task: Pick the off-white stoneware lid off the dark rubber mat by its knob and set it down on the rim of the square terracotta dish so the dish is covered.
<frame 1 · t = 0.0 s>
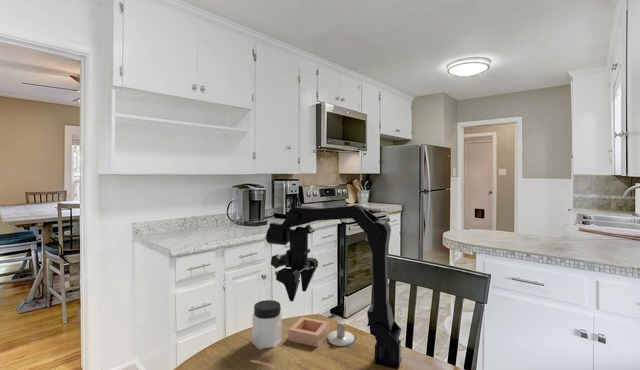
hand: (298, 296, 100), 15 cm above the table, fingers open, 9 cm apart
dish: (309, 337, 103), on the table
lid: (340, 339, 101), point 1 cm above the table, touching mat
jar: (267, 343, 99), on the table
mat: (340, 341, 101), on the table
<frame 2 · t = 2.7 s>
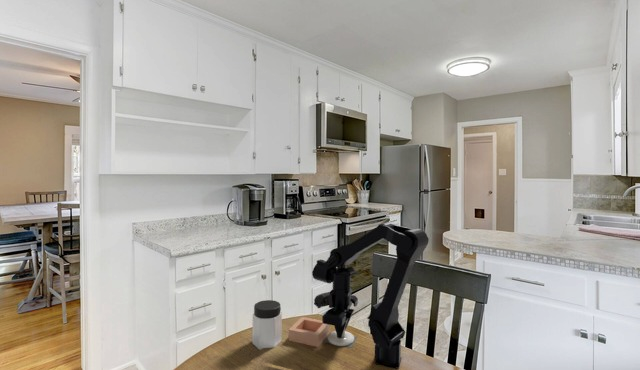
hand: (340, 335, 101), 2 cm above the table, fingers closed on lid, 3 cm apart
lid: (340, 339, 101), point 1 cm above the table, touching gripper, mat
everything else where it was.
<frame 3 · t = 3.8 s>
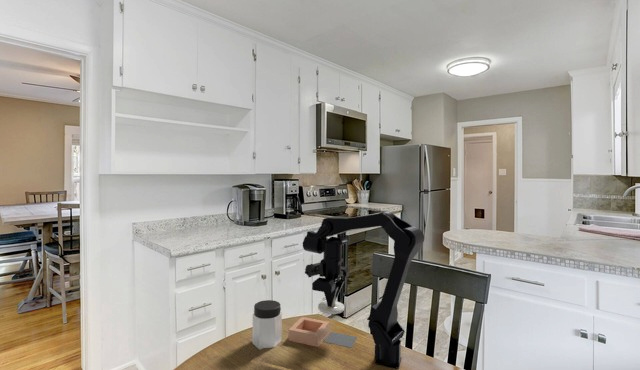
hand: (331, 304, 102), 11 cm above the table, fingers closed on lid, 3 cm apart
lid: (331, 308, 102), point 10 cm above the table, touching gripper
everything else where it was.
when the fingers open (6 cm above the table, at t = 5.2 s): lid drops 1 cm, resting on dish.
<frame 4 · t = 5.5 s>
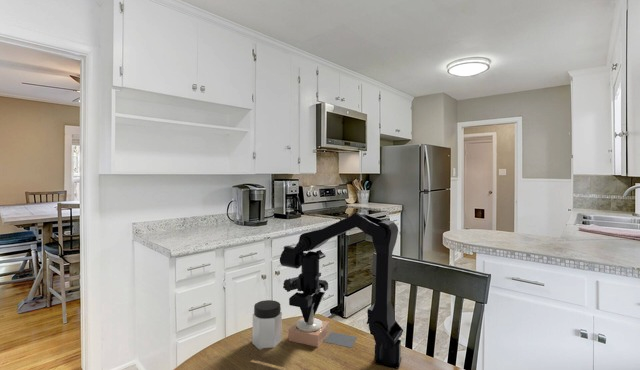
hand: (309, 318, 103), 6 cm above the table, fingers open, 5 cm apart
lid: (309, 325, 103), point 4 cm above the table, touching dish
everything else where it was.
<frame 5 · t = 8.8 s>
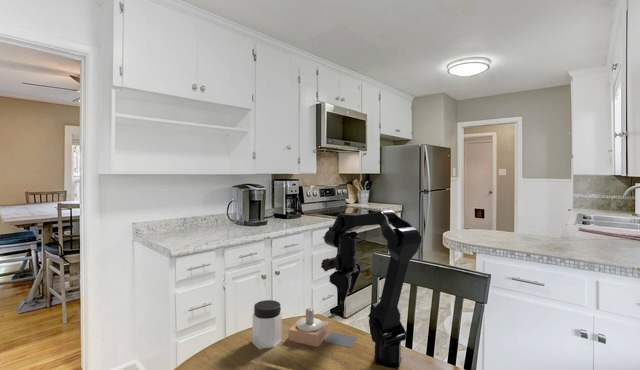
hand: (346, 297, 106), 12 cm above the table, fingers open, 9 cm apart
nothing on the table moved.
at the end: lid 0.0 cm off-centre on the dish, point 4.0 cm above the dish's base; lid tilted 0°; the gripper is holding nothing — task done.
